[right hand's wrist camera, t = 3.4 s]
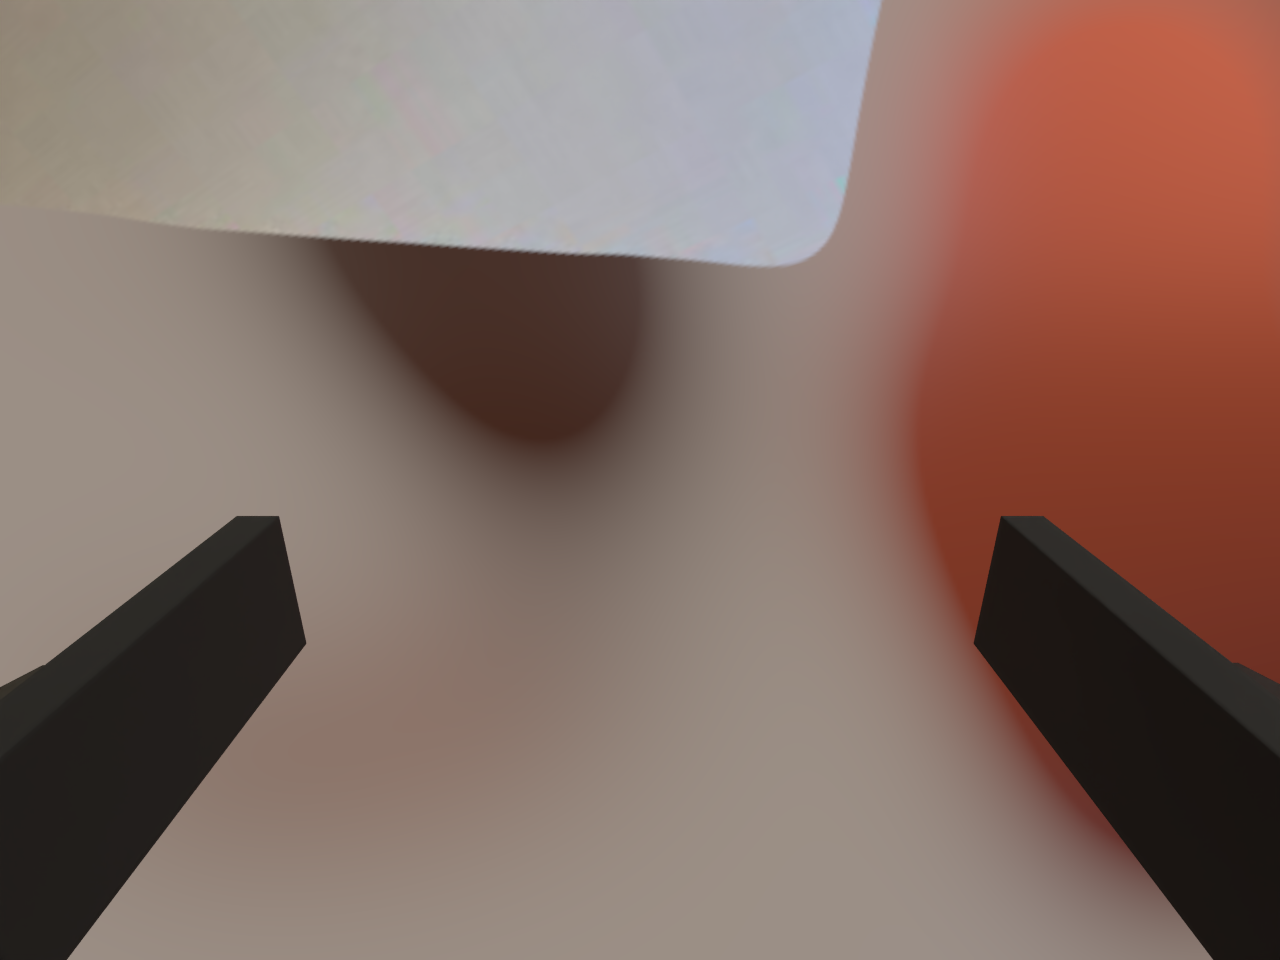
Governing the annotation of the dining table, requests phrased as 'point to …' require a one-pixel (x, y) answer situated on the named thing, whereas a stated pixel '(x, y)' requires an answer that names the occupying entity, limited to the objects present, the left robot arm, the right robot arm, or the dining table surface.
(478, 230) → the dining table surface
